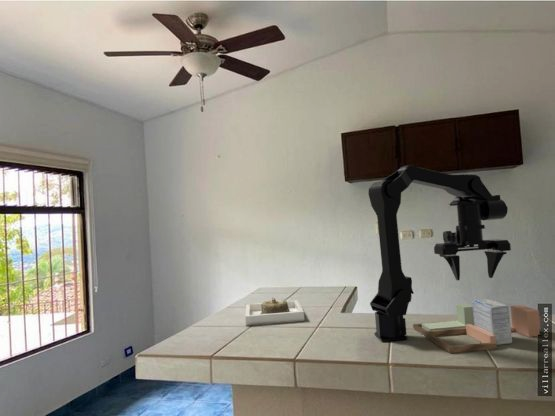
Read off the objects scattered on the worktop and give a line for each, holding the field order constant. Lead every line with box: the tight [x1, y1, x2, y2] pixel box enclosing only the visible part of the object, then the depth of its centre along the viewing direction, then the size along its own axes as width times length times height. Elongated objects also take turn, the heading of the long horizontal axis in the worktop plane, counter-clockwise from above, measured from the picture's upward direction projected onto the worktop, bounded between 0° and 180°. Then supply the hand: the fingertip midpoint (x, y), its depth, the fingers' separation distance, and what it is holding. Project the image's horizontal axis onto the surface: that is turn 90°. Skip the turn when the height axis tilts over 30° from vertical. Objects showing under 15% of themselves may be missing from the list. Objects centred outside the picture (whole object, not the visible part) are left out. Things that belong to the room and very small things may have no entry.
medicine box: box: [471, 298, 513, 346], centre depth 94 cm, size 8×4×9 cm, turn 3°
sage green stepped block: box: [421, 303, 474, 331], centre depth 103 cm, size 12×5×6 cm, turn 93°
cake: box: [260, 297, 289, 314], centre depth 132 cm, size 10×10×5 cm
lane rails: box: [412, 320, 498, 354], centre depth 97 cm, size 11×20×1 cm, turn 3°
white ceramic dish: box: [244, 299, 305, 327], centre depth 131 cm, size 18×18×3 cm
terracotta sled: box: [466, 304, 541, 343], centre depth 94 cm, size 15×10×6 cm
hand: (474, 279), depth 108 cm, fingers open, 9 cm apart
